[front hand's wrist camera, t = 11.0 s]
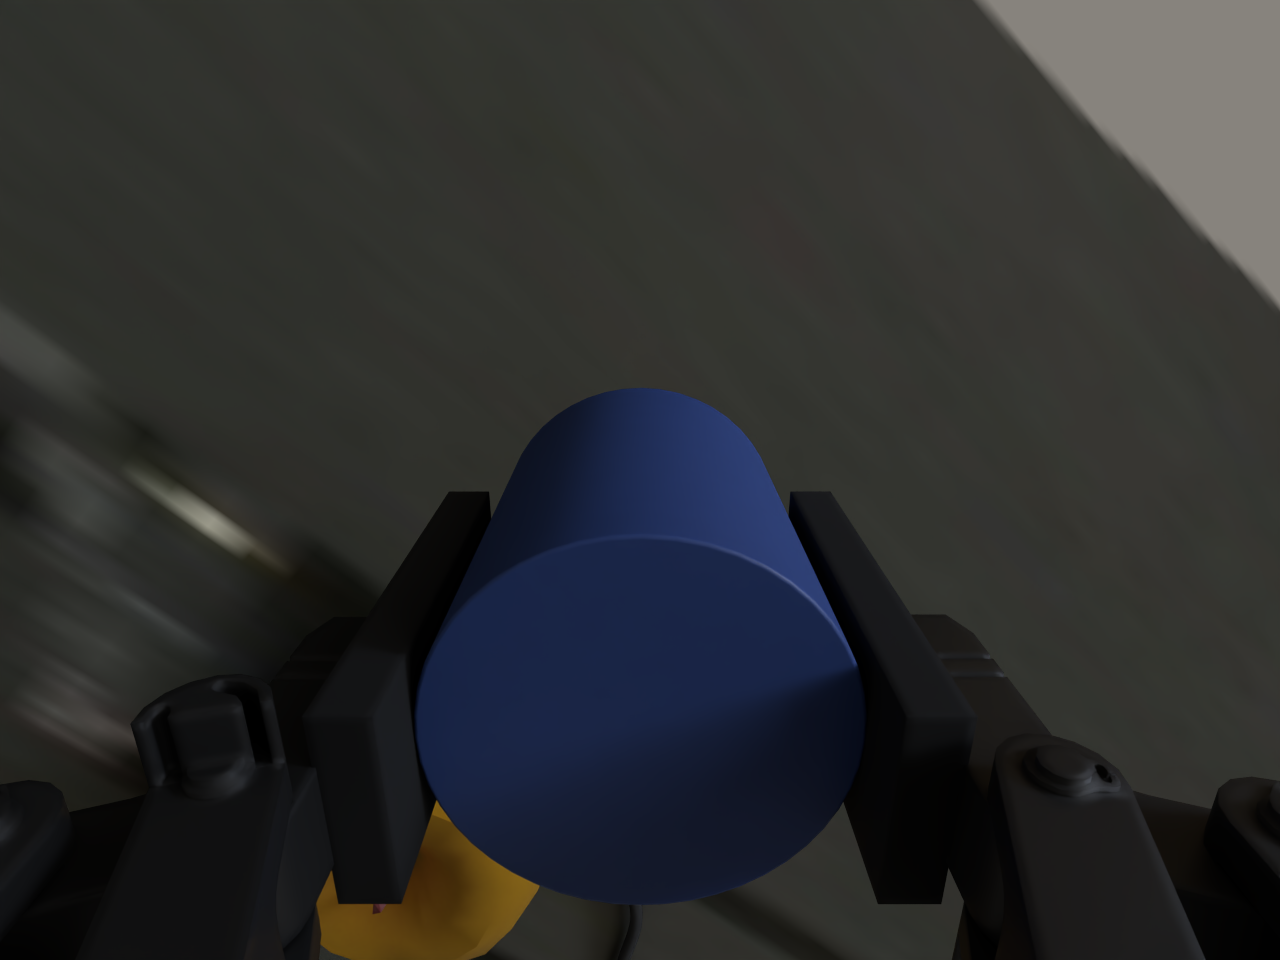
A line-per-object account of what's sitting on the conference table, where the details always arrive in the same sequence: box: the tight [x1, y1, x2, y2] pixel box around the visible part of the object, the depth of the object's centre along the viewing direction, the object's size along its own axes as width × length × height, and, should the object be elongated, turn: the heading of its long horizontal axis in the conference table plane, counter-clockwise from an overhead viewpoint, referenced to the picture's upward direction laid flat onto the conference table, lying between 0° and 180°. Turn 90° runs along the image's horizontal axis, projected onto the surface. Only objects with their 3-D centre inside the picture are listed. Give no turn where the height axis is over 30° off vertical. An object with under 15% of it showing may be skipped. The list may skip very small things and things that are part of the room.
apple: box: [316, 800, 539, 960], centre depth 32 cm, size 11×11×13 cm
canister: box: [414, 388, 867, 905], centre depth 13 cm, size 6×6×7 cm
